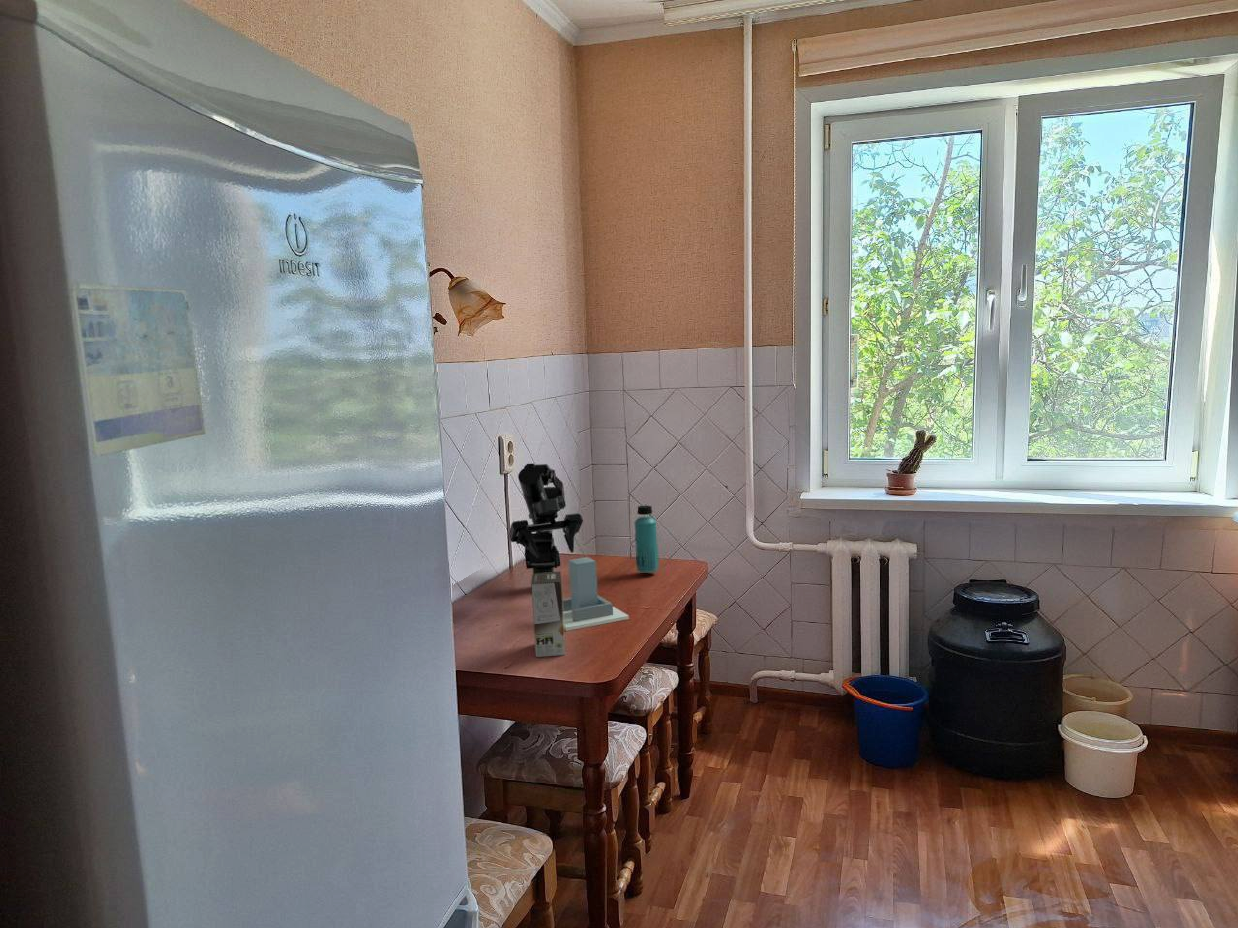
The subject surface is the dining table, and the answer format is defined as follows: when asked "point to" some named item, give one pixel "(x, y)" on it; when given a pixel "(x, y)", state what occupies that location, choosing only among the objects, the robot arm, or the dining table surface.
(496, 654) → the dining table surface
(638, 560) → the beverage bottle
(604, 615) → the plate
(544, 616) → the coffee box
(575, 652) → the dining table surface
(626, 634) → the dining table surface
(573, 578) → the blue-grey tall block
